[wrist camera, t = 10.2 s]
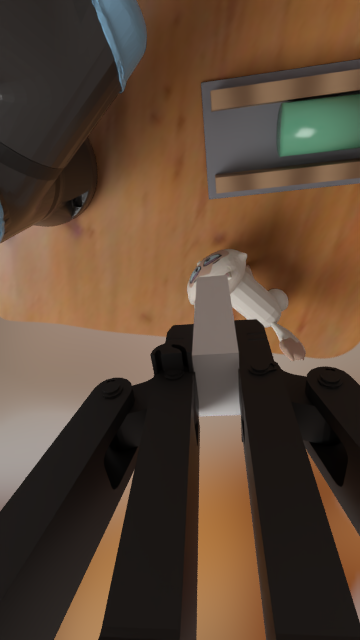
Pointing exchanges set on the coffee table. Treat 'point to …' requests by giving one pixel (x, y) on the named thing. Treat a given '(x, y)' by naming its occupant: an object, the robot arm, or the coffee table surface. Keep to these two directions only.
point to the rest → (283, 93)
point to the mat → (260, 133)
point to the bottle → (318, 125)
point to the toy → (248, 295)
